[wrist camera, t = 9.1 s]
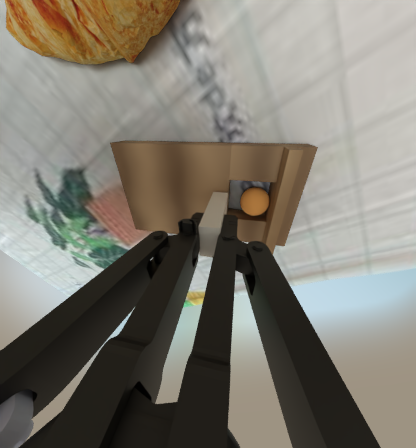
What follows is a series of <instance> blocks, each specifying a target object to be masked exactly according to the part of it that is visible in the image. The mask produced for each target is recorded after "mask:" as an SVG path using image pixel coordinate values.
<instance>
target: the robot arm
mask: <svg viewBox="0 0 416 448" xmlns="http://www.w3.org/2000/svg"><path fill="white" fill-rule="evenodd" d="M227 200H228V193H224V192H213V194H212V196H211V199H210V201H209V203H208V205H207V208H206V210H205V212H204V213H200V212H196V213H195V214H193V215H192V217H191V219H190V218H188V219H182V220H180V221H179V222H178V227H179V233H178V235H172V236H168V234H167V233H166V232H165V231H155V232H153V233H151V234H150V235H148V236H147V237H146V238H144V239H143V240H142V241H141V242H139V243H138V244H137V245H135V246H134V247H133V248H132V249H130V250H129V251H128V252H127V253H125V254H124V255H123V256H121V257H120V258H119V259H118V260H116V261H115V262H114V263H112V264H111V265H110V266H109V267H107V268H106V269H105V270H103V271H102V272H101V273H100V274H98V275H97V276H96V277H95V278H93V279H92V280H91V281H89V282H88V283H87V284H86V285H84V286H83V287H82V288H80V289H79V290H78V291H77V292H75V293H74V294H73V295H71V296H70V297H69V298H68V299H66V300H65V301H64V302H63V303H61V304H60V305H59V306H57V307H56V308H55V309H54V310H52V311H51V312H50V313H49V314H47V315H46V316H45V317H43V318H42V319H41V320H40V321H38V322H37V323H36V324H34V325H33V326H32V327H31V328H29V329H28V330H27V331H25V332H24V333H23V334H22V335H20V336H19V337H18V338H17V339H15V340H14V341H13V342H11V343H10V344H9V345H7V346H6V347H5V348H4V349H2V350H0V448H240V446H239V444H238V442H237V441H236V439H235V437H234V436H233V434H232V433H231V432H230V430H229V429H228V410H229V391H230V354H231V337H232V320H233V302H234V286H235V270H236V271H238V272H241V273H243V279H244V282H245V285H246V289H247V292H248V296H249V299H250V303H251V306H252V310H253V313H254V316H255V320H256V323H257V326H258V330H259V334H260V337H261V341H262V344H263V347H264V351H265V354H266V358H267V361H268V365H269V368H270V371H271V375H272V379H273V382H274V385H275V389H276V392H277V396H278V399H279V403H280V406H281V410H282V413H283V416H284V420H285V423H286V427H287V430H288V433H289V437H290V440H291V443H292V447H293V448H381V447H380V446H379V444H378V442H377V440H376V439H375V437H374V435H373V433H372V431H371V430H370V428H369V426H368V424H367V423H366V421H365V419H364V417H363V415H362V414H361V412H360V410H359V408H358V407H357V405H356V403H355V401H354V399H353V398H352V396H351V394H350V392H349V390H348V389H347V387H346V385H345V383H344V381H343V380H342V378H341V376H340V375H339V373H338V371H337V369H336V367H335V365H334V364H333V362H332V360H331V358H330V357H329V355H328V353H327V351H326V349H325V348H324V346H323V344H322V342H321V340H320V339H319V337H318V335H317V333H316V332H315V330H314V328H313V326H312V324H311V323H310V321H309V319H308V317H307V316H306V314H305V312H304V310H303V308H302V307H301V305H300V303H299V301H298V300H297V298H296V296H295V294H294V292H293V291H292V289H291V287H290V285H289V283H288V282H287V280H286V278H285V276H284V275H283V273H282V271H281V269H280V267H279V266H278V264H277V262H276V260H275V259H274V257H273V255H272V253H271V251H270V250H269V248H268V246H267V245H266V244H264V243H263V242H260V241H251V242H249V243H248V244H246V243H244V242H242V241H240V240H239V239H238V237H237V227H238V218H237V216H236V215H227ZM199 252H200V256H207V257H213V261H212V265H211V270H210V274H209V279H208V283H207V287H206V292H205V296H204V301H203V305H202V309H201V314H200V318H199V323H198V327H197V331H196V336H195V340H194V345H193V349H192V352H191V354H190V356H189V358H188V361H187V364H186V368H185V372H184V376H183V380H182V384H181V389H180V393H179V397H178V402H173V403H164V404H155V402H156V399H157V396H158V392H159V389H160V385H161V381H162V372H163V367H164V364H165V360H166V358H167V354H168V351H169V348H170V345H171V342H172V339H173V336H174V333H175V330H176V327H177V324H178V321H179V317H180V314H181V311H182V308H183V305H184V302H185V299H186V296H187V293H188V290H189V287H190V284H191V281H192V278H193V274H194V271H195V268H196V265H197V262H198V254H199ZM151 258H153V259H152V260H150V259H151ZM135 306H136V307H135ZM134 307H135V308H134ZM133 309H134V310H133ZM132 310H133V312H132V314H131V315H130V317H129V319H128V320H127V322H126V324H125V326H124V328H123V329H122V331H121V332H120V333H119V335H117V336H116V337H114V338H111V339H109V340H108V341H107V342H106V343H105V344H104V342H105V341H106V340H107V339H108V338H109V336H110V335H111V334H112V333H113V332H114V331H115V329H116V328H117V327H118V326H119V325H120V323H122V321H123V320H124V319H125V318H126V317H127V316H128V314H129V313H130V312H131V311H132ZM103 344H104V346H103V347H102V348H101V350H100V351H99V353H98V355H97V356H96V358H95V359H94V361H93V363H92V364H91V366H90V367H89V369H88V371H87V372H86V374H85V375H84V377H83V379H82V380H81V382H80V384H79V385H78V386H77V388H76V390H75V392H74V393H73V395H72V396H71V398H70V399H69V401H68V403H67V404H66V406H65V407H64V409H63V411H61V412H60V413H59V414H58V415H57V416H56V417H54V418H53V419H52V420H51V421H49V422H48V423H47V424H46V425H45V426H44V427H42V428H41V429H40V430H39V431H38V432H36V433H35V434H34V435H33V436H32V437H30V438H29V439H28V440H27V441H26V439H27V438H28V437H29V435H30V433H31V431H32V429H33V424H34V423H33V421H32V420H31V419H32V418H33V417H35V416H36V415H37V414H38V413H39V412H40V411H41V410H43V408H45V407H46V406H47V405H48V404H49V403H50V402H51V401H52V400H53V399H54V398H55V397H56V396H57V395H58V394H59V393H60V392H61V391H62V390H63V389H64V388H65V387H66V386H67V385H68V384H69V383H70V382H71V381H72V379H73V378H74V377H75V376H76V375H77V374H78V373H79V371H80V370H81V369H82V368H83V367H84V365H86V363H87V362H88V361H89V360H90V359H91V357H92V356H93V355H94V354H95V353H96V352H97V350H98V349H99V348H100V347H101V346H102V345H103ZM25 441H26V442H25ZM20 445H21V446H20ZM19 446H20V447H19Z"/></svg>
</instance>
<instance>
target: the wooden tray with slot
mask: <svg viewBox="0 0 416 448" xmlns="http://www.w3.org/2000/svg"><path fill="white" fill-rule="evenodd" d="M110 144H111V147H112V151H113V154H114V157H115V161H116V164H117V168H118V171H119V174H120V178H121V181H122V184H123V188H124V191H125V194H126V198H127V201H128V204H129V208H130V211H131V214H132V218H133V221H134V225H135V228H136V229H138V230H147V231H165V232H166V233H173V234H178V233H179V227H178V222H179V221H180V220H182V219H188V218H190V219H191V217H192V215H193V214H195V213H196V212H200V213H204V212H205V210H206V208H207V205H208V203H209V201H210V199H211V196H212V194H213V192H224V193H228V200H227V215H236V216H237V218H238V227H237V237H238V239H239V240H240V241H243V242H251V241H260V242H263V243H264V244H266V245H267V246H268V248H269V250H270V251H271V253H272V255H273V252H274V248H275V245H278V246H285V243H286V240H287V237H288V234H289V231H290V228H291V225H292V222H293V219H294V216H295V213H296V210H297V207H298V204H299V201H300V198H301V195H302V192H303V189H304V186H305V183H306V180H307V178H308V175H309V172H310V169H311V166H312V163H313V160H314V157H315V154H316V151H317V148H318V147H315V146H312V145H309V144H275V143H222V142H168V141H120V142H113V143H110ZM230 180H241V181H259V182H271V183H270V187H269V192H268V196H269V200H270V202H269V206H268V208H267V210H266V211H265V212H264V213H262V214H260V215H256V216H252V215H249V214H247V213H245V212H244V211H243V210H237V209H228V204H229V191H230Z"/></svg>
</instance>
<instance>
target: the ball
mask: <svg viewBox="0 0 416 448" xmlns="http://www.w3.org/2000/svg"><path fill="white" fill-rule="evenodd" d="M269 202H270V200H269V196H268V194H267V192H266V191H265V190H263V189H261V188H258V187H253V188H249V189H247V190H246V191H245V192H244V193H243V194H242V196H241V199H240V205H241V208H242V209H243V211H244V212H245V213H247V214H249V215H252V216H256V215H260V214H262V213H264V212H265V211H266V210H267V208H268V206H269Z"/></svg>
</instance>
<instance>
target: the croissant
mask: <svg viewBox="0 0 416 448" xmlns="http://www.w3.org/2000/svg"><path fill="white" fill-rule="evenodd" d="M5 3H6V7H7V12H6V28H7V30H8V31H9V32H10V34H11V35H12V36H13V37H14V38H15V39H16V40H17V41H18V42H19V43H20V44H21V45H23V46H24V47H26V48H28V49H30V50H33V51H35V52H36V53H38V54H40V55H42V56H48V57H56V58H61V59H64V60H67V61H71V62H77V63H80V64H102V63H104V62H108V61H114V60H117V59H121V58H125V59H126V60H127V61H128V62H130V63H131V62H134V60H135V59H136V57H137V55H138V54H139V53H140V52H141V51H142V50H143V49H144V48H145V46H146V43H147V42H148V40H149V39H150V37H152V36H155V35H158V34H159V33H160V31H161V30H162V29H163V28H164V26H165V25H166V24H167V22H168V21H169V19H170V18H171V16H172V15H173V13H174V12H175V10H176V8H177V7H178V5H179V3H180V0H5Z"/></svg>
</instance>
